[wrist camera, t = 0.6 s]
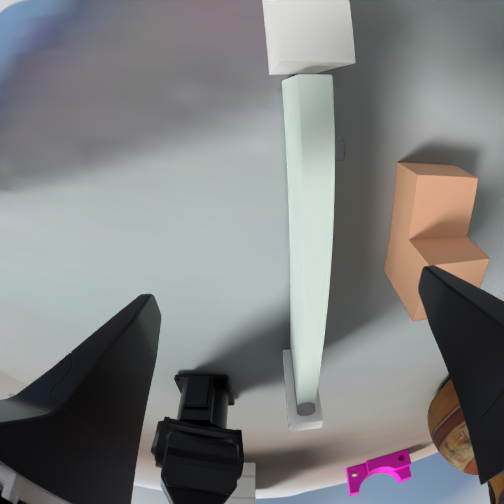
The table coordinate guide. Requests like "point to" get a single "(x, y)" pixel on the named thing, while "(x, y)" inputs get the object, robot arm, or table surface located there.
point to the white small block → (306, 62)
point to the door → (309, 222)
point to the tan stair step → (431, 229)
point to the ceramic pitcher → (456, 437)
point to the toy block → (380, 469)
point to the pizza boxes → (244, 487)
